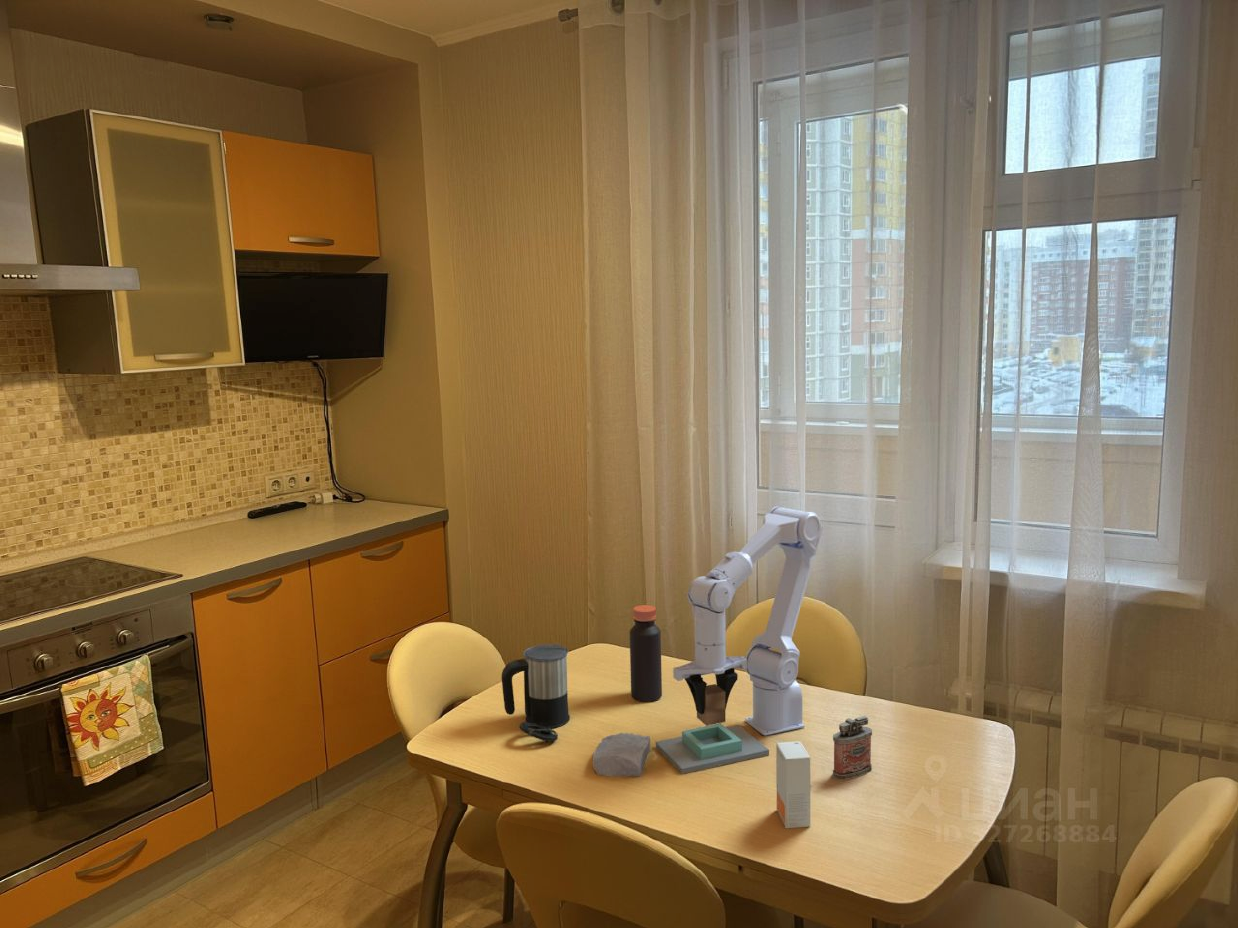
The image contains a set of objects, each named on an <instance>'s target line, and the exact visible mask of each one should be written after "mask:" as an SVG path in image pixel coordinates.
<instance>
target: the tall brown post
mask: <svg viewBox="0 0 1238 928" xmlns="http://www.w3.org/2000/svg"><path fill="white" fill-rule="evenodd" d="M704 701H705V709H704V714H700V713H699V712H697V711H696V718H697V719H698V720H699V721H700V722H701V723H702V724H704V725H705V726H709V725H714V724H719V723H721V724H722V723H725V722H726V719H727V718H726V710H725V691H724V690H723V689H721V688H720V687H719V686H717V683H714V684H707V685H706V690H705V698H704Z"/></svg>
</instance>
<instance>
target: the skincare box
mask: <svg viewBox="0 0 1238 928" xmlns="http://www.w3.org/2000/svg"><path fill="white" fill-rule="evenodd" d="M775 749H776V751H775V752H776V753H775V755H776V757H775V758H776V761H775V762H776V766H775V767H776V775H775V776H776V778H775V779H776V784H775V785H776V811H777V812H778V814H779V816H780V819H781V821H782V823H783V825H784V827H785V828H786V829H795V828H797V829H798V828H809V827H811V757H810V755H809V753H808V751H807V749H806V748H805V747H804V745H803V743H802V741H800V740H799V741H798V740H796V741H783V742H782V741H781V742H776V748H775Z"/></svg>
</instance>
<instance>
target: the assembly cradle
mask: <svg viewBox="0 0 1238 928" xmlns="http://www.w3.org/2000/svg"><path fill="white" fill-rule="evenodd" d="M655 748H656V749H657V750H658V751H659V752H660V753H661V754H662V755H663V756H664V757H665V759H667V760H668V761H669V762H670V763H671V764H672V765H673V766H674V767H675V768H676V769H677V770H678V771H679V772H680V773H681V774H682V775H684V774H685V775H686V774H688V773H693V772H697V771H699V772H700V771H702V770H703V771H704V770H707V769H711V768H717V767H720V766H726V765H730V764H735V763H739V762H742V761H747V760H751V759H758V758H760V757H761V758H762V757H766V756H770V749H769V748H767V747H766V745H764V744H762V743H761V741H759V740H758V739H756V738H755V737H754V736H753V735H751V734H750V733H749V732H747V731H746V730H745V729H744V728H743V727H741V726H740V725H739V724H735V725H732V726H724V724H722V723H718V724H713V725H708V726H706V725H705V726H700V727H695V728H691V729H686V730H682V731H681V736H678V737H672V738H668V739H662V740H658V741H657V740H656V741H655Z"/></svg>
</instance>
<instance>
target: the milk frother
mask: <svg viewBox="0 0 1238 928" xmlns="http://www.w3.org/2000/svg"><path fill="white" fill-rule="evenodd" d="M568 654H569V649H568V648H566V647H564V646H561V645H558V644H540V645H534V646H531V647H528V648H526V649H525V650H523V656H524V658H520V659H514V660H512V661H510V662H508V663H507V664H506V665H505V666H504V667H503V669H502V672H501V687H502V697H503V704H504V710H505V713H506V714H507V715H509V716H510V715H513V714H515V710H516V708H515V698H514V686H513V677H514V676H515V675H516V674H517V673H519V672H523V687H524V688H523V691H524V695H523V696H524V714H525V722H521V723H520V724H519V726H518V728H519V730H520V731H521V732H523V733H525V734H527V735H528V736H530V737H533V738H535V739H539V740H540V741H543V742H545V743H549V742H554V741H557V740H558V737H559V735H558V733H557V732H556V731H555V730H554V728H558V727H562V726H564V725H566V724H568V722H569V721H570V718H571V716H570V713H569V700H568V699H569V698H568V661H567V659H568V657H567V656H568Z"/></svg>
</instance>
